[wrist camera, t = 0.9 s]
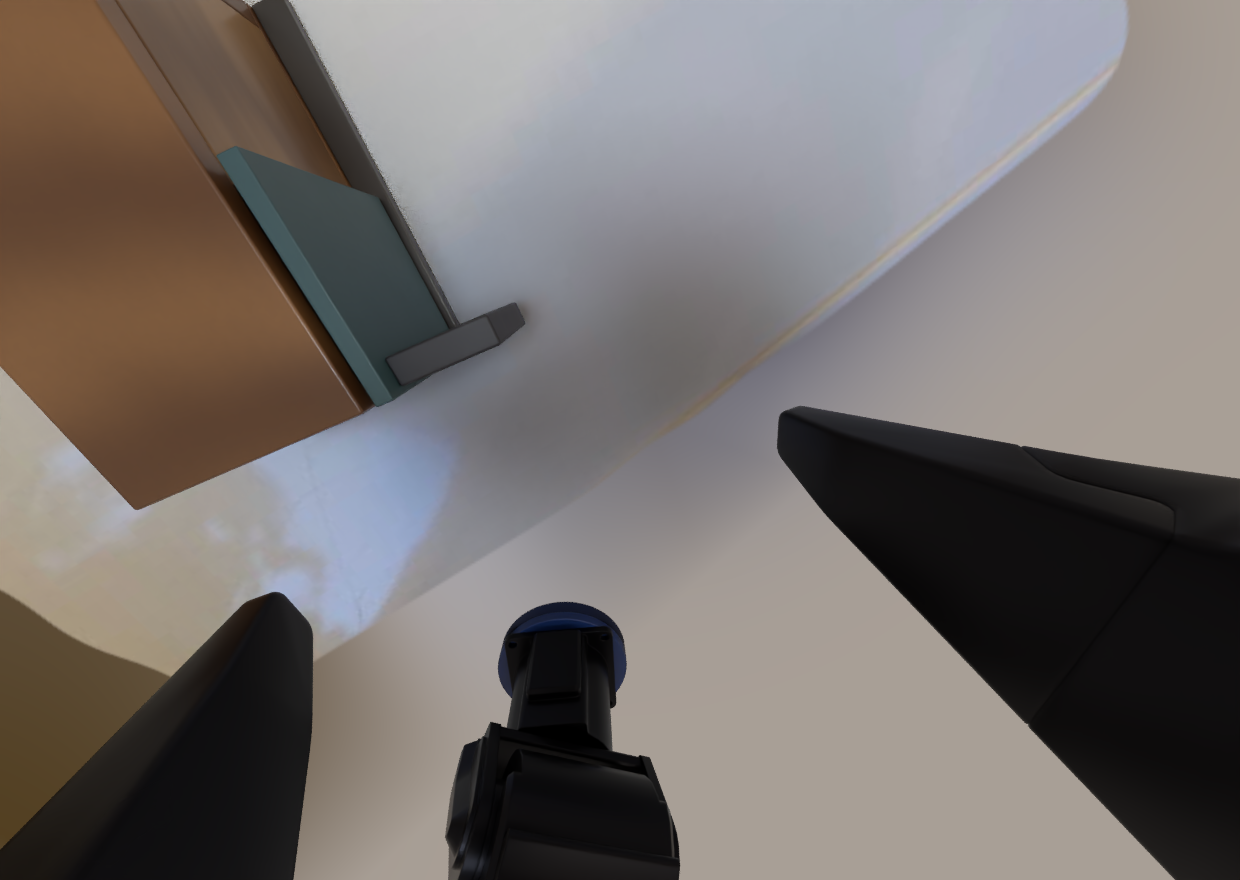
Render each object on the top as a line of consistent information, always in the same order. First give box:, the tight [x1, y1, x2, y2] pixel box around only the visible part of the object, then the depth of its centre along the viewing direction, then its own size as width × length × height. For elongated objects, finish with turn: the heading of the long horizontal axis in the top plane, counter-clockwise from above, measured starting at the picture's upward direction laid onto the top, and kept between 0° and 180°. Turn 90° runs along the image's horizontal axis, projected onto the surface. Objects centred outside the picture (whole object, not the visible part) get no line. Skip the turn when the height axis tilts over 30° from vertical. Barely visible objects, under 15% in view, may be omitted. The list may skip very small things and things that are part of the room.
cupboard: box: [0, 0, 460, 510], centre depth 15 cm, size 14×9×9 cm, turn 22°
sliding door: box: [216, 146, 525, 407], centre depth 16 cm, size 7×4×8 cm, turn 22°
